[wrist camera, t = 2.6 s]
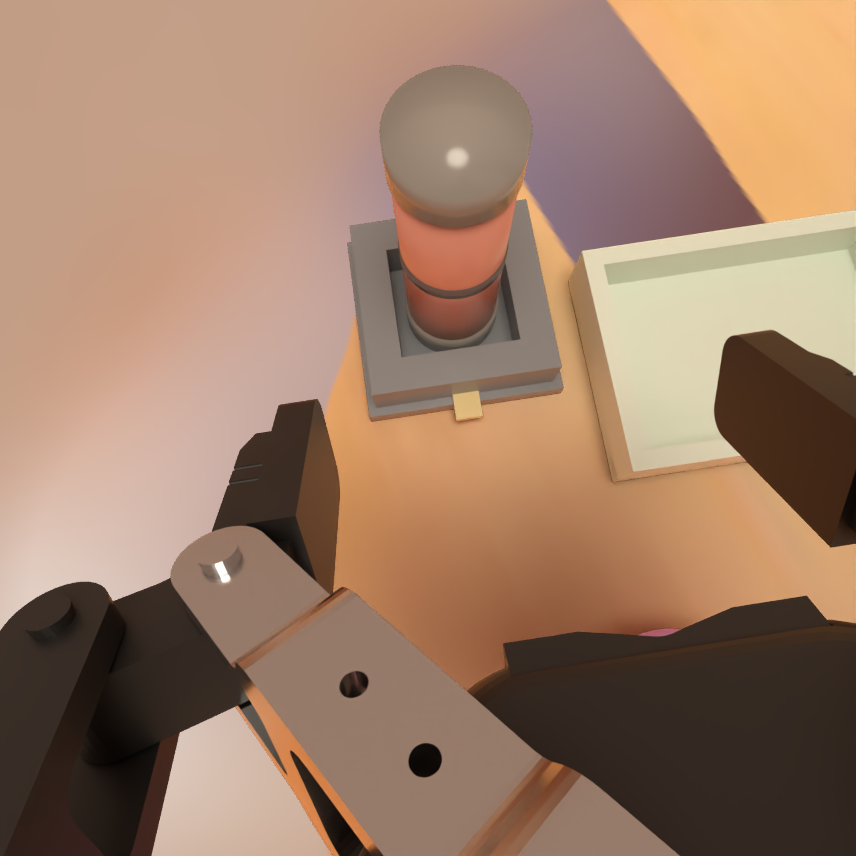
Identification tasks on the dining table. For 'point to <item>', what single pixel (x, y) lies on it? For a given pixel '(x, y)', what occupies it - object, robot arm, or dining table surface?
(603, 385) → the parts tray
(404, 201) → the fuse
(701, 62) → the dining table surface
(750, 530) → the dining table surface
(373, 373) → the socket block
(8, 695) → the robot arm
